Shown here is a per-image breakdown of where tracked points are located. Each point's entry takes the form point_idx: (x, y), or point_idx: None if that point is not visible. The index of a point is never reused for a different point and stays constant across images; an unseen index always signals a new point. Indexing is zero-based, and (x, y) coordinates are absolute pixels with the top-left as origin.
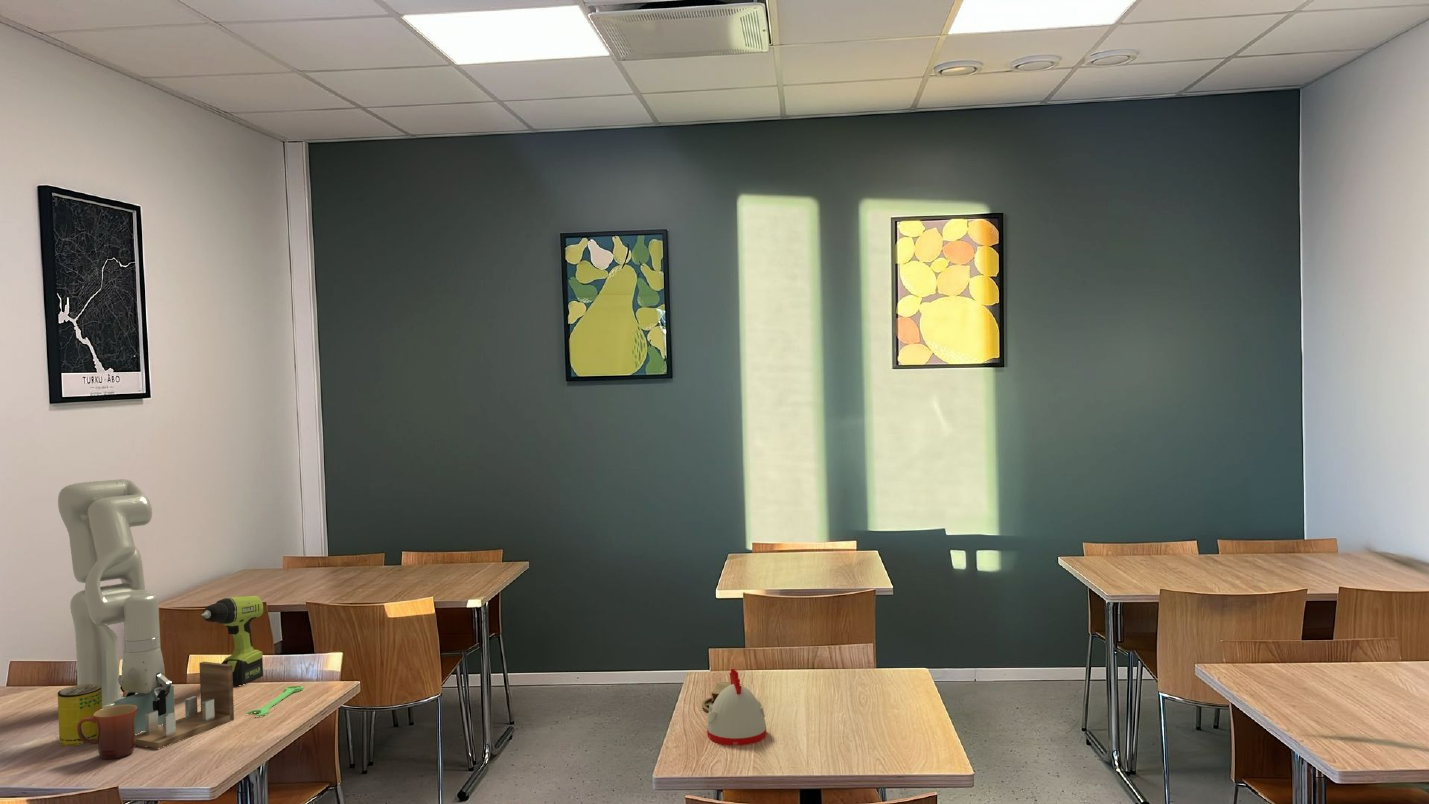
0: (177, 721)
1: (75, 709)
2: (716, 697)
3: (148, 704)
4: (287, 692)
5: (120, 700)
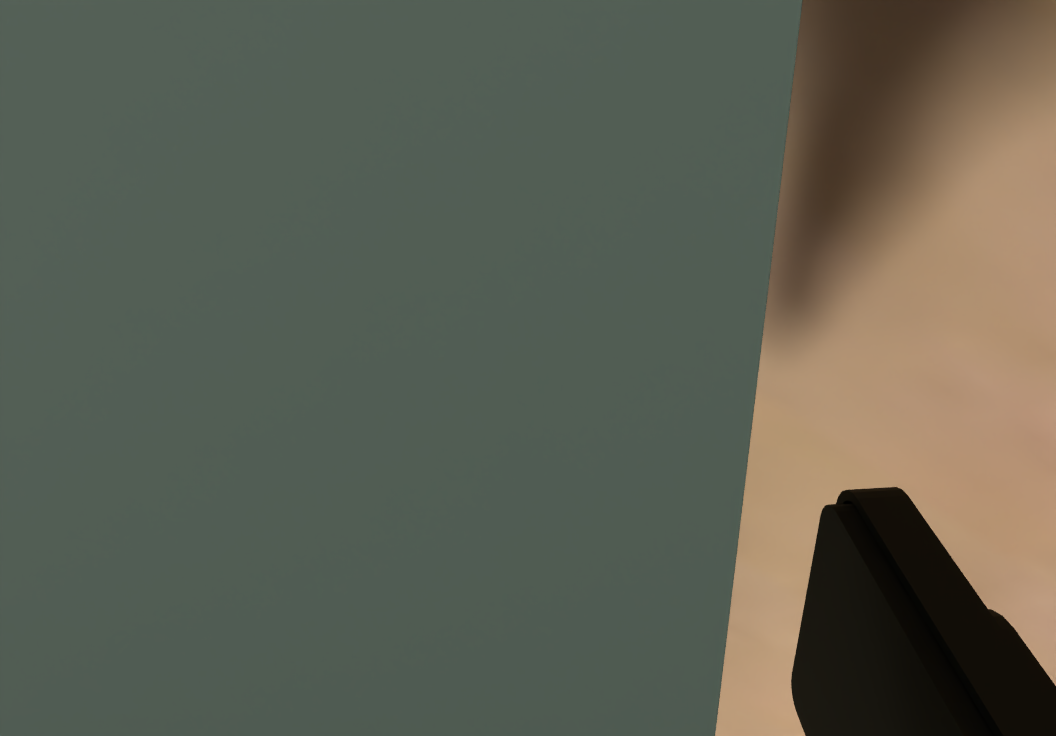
0: None
1: None
2: None
3: None
4: None
5: (380, 408)
